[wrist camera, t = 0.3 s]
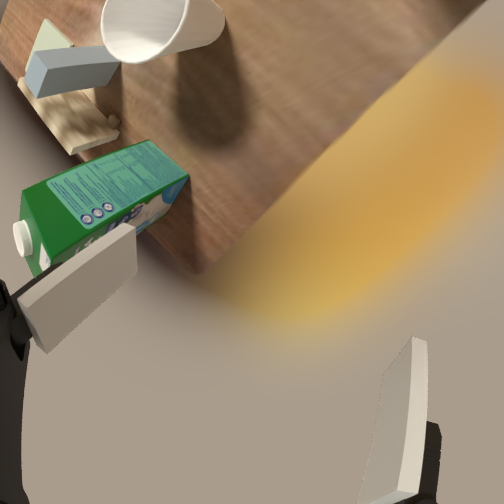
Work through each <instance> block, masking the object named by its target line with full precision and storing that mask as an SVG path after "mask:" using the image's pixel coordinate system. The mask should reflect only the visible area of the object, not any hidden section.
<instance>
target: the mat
mask: <svg viewBox="0 0 504 504" xmlns="http://www.w3.org/2000/svg"><path fill="white" fill-rule="evenodd" d="M73 46H74V44H73V43H72V42H71V41H70V40H69V39H68V38H67V37H66V36H65V35H64V34H63V33H62V32H61V31H60V30H59V29H58V28H57V27H56V26H55V25H54V24H52V23H51V22H50V21H49V20H48V19H44V21H43V24H42V26H41V28H40V31H39V33H38V36H37V38H36V41H35V43H34V46H33V49H32V51H31V54H30V57H29V60H28V63H27V66H26V69H25V71H26V72H27V69H28V67H29V64H30V61H31V58H32V56H33V53H34V51H41V50H49V49H59V48H71V47H73Z"/></svg>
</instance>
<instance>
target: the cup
mask: <svg viewBox="0 0 504 504" xmlns="http://www.w3.org/2000/svg"><path fill="white" fill-rule="evenodd" d="M224 26H225V15H224V12H223V10H222V9H221V8H220V6H219V5H218V4H216V3H215V2H214V1H213V0H106V2H105V5H104V8H103V11H102V17H101V34H102V38H103V42H104V45H105V46H106V48H107V50H108V51H109V53H110V54H111V55H112V56H113V57H114V58H116V59H117V60H119V61H121V62H124V63H126V64H141V63H144V62H148V61H151V60H153V59H155V58H159V57H162V56H166V55H169V54H173V53H177V52H181V51H185V50H189V49H193V48H198V47H202V46H207V45H209V44H211V43H213V42H214V41H215V40H216V39H218V37H219V36H220V35H221V33H222V31H223V29H224Z"/></svg>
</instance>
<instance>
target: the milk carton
mask: <svg viewBox="0 0 504 504" xmlns="http://www.w3.org/2000/svg"><path fill="white" fill-rule="evenodd" d="M188 178H189V175H188V174H187V173H186V172H185V171H184V170H183V169H182V168H180V167H179V166H178V165H177V164H176V163H175V162H174V161H173V160H171V159H170V158H169V157H168V156H167V155H166V154H165V153H164V152H162V151H161V150H160V149H159V148H158V147H157V146H156V145H155V144H153V143H152V142H151V141H150V140H149V139H148V140H145V141H142V142H139V143H136V144H133V145H130V146H128V147H125V148H122V149H119V150H116V151H114V152H111V153H108V154H105V155H103V156H100V157H98V158H95V159H92V160H90V161H87V162H85V163H82V164H80V165H78V166H75V167H73V168H70V169H68V170H66V171H63V172H61V173H59V174H57V175H54V176H52V177H50V178H48V179H46V180H43V181H41V182H39V183H37V184H35V185H33V186H31V187H28V188H27V189H24V190H22V195H21V205H20V219H19V222H16V223H14V225H13V233H14V238H15V242H16V246H17V250H18V251H19V254H20V255H21V256H22V257H25V258H26V261H27V262H28V265H29V268H30V270H31V272H32V274H33V276H34V278H36V276H38V275H39V274H40V273H43V271H44V270H46V269H47V268H48V267H50V266H51V265H54V264H57V263H59V262H63V263H65V262H66V261H68V260H69V259H71V258H72V257H73V256H75V255H76V254H78V253H79V252H80V251H82V250H83V249H85V248H86V247H88V246H89V245H91V244H92V243H94V242H95V241H96V240H98V239H99V238H101V237H102V236H104V235H105V234H107V233H108V232H110V231H111V230H113V229H115V228H116V227H118V226H119V225H121V224H122V223H126V224H129V225H131V226H133V227H136V235H137V234H139V233H140V232H142V231H143V230H144V229H146V228H147V227H149V226H150V225H152V224H153V223H155V222H156V221H158V220H159V219H161V218H162V217H164V216H165V215H166V213H167V212H168V210H169V208H170V207H171V205H172V203H173V202H174V200H175V198H176V197H177V195H178V194H179V192H180V190H181V189H182V187H183V186H184V184H185V182H186V181H187V179H188Z"/></svg>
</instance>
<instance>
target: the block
mask: <svg viewBox="0 0 504 504" xmlns="http://www.w3.org/2000/svg"><path fill="white" fill-rule="evenodd" d="M120 63H121V61H119V60H117V59H116V58H114V57H113V56H112V55H111V54H110V53H109V51H108V50H107V48H106V46H88V47H71V48H59V49H49V50H41V51H34V53H33V56H32V58H31V61H30V64H29V67H28V69H27V72H26V75H25V78H24V82H25V83H26V85H27V86H28V87H29V89H30V90H31V92H32V93H33V95H34V96H35V98H36V99H39V98H43V97H48V96H52V95H57V94H61V93H66V92H71V91H77V90H82V89H88V88H94V87H100V86H107V85H108V83H109V81H110V80H111V78H112V76H113V74H114V73H115V71H116V69H117V68H118V66H119V64H120Z"/></svg>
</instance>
